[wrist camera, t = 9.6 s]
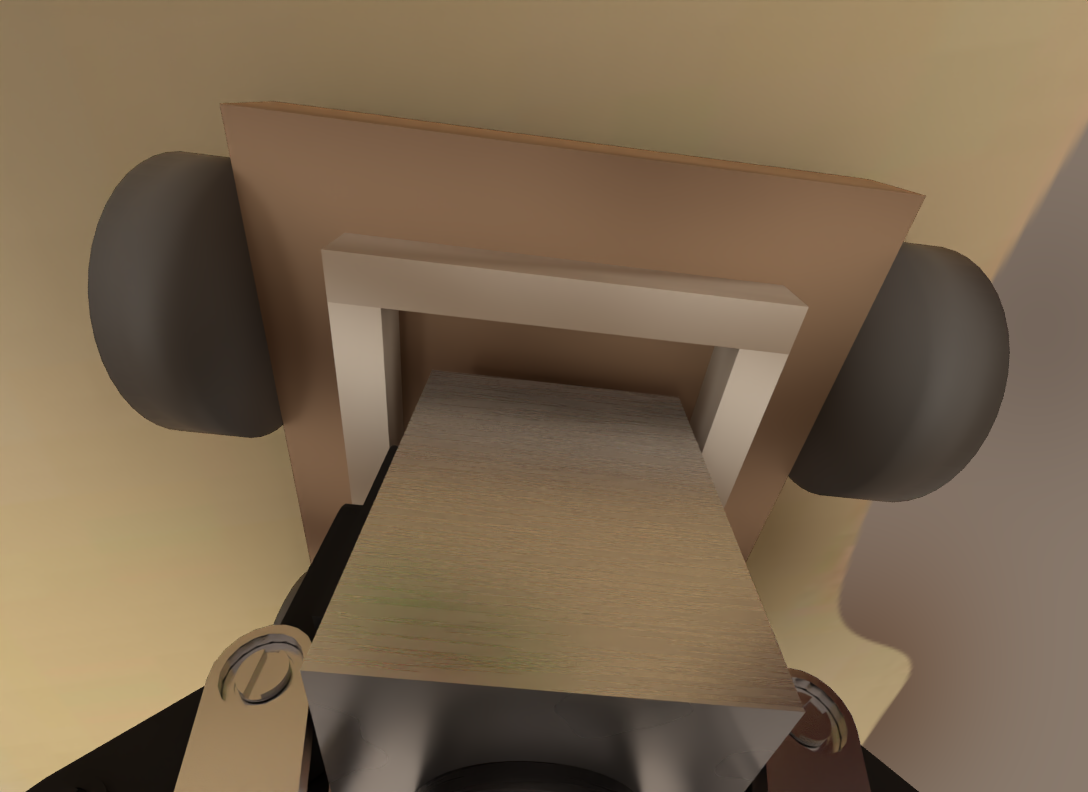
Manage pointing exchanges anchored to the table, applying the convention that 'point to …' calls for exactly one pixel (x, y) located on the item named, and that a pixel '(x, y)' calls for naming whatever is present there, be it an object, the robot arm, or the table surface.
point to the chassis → (540, 302)
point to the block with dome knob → (546, 607)
